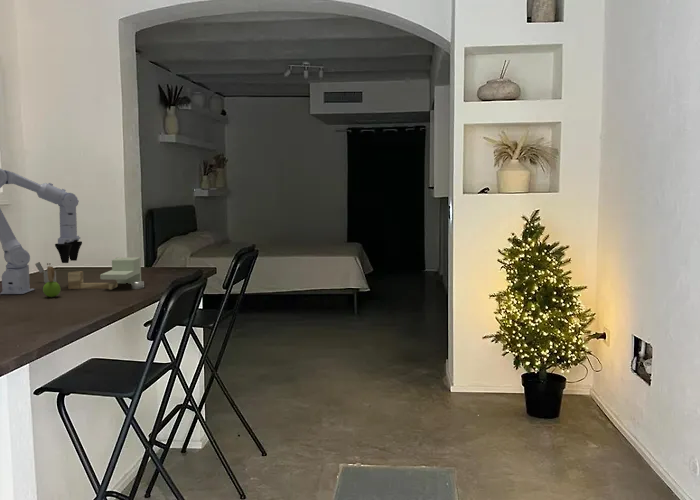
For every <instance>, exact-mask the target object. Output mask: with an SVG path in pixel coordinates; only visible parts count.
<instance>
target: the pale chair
mask: <svg viewBox="0 0 700 500" xmlns="http://www.w3.org/2000/svg"><path fill="white" fill-rule="evenodd" d="M141 258H142V257H120V256H119V257H115V259H111V270H108V271H105V272H103V273H101V274H100V277H99V278H100V280H115V281H116V282H117V285H119V284H126V283H128V284H129V285H130V284H131V285H132V282H133V281H142V265H141V264H142V262H141V261H142V259H141Z"/></svg>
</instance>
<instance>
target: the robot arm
mask: <svg viewBox="0 0 700 500" xmlns="http://www.w3.org/2000/svg"><path fill="white" fill-rule="evenodd" d="M5 185H14V186H15V185H16V186H18V187H21V188H24V189H27V190H29V191H32V192H34V193H36V194H37V196H38V198H40V199H42V200H45V201H47V202H50V203H51V204H54V205H58V207H59V238H57V243H55V244H54V247H55V248H56V250H57V252H58V254H59V257H60V260H61V264H69V262H71V261H73V262H75V261H78V256H79V253H80V249H81V246H82V244H83V241H81V237H80V235H78V228H77V227H78V226H77V225H78V221H77V217H78V216H77V206H78V205H79V199H78V197H77V196H76V194H74V193H72V192H67V190H66V189H65V188H62V189H61V188H59V187H57V186H54V183H51V182H48V183H47V182H45V183H41V184H40V183H38V182H35V181H33V180H31V179H29V178H27V177H24V176H22V175H20V174H18V173H15V172H13V171H9V170H6V169H2V168H0V189H1V188H2V187H3V186H5ZM0 243H1V249H2V250H3V254H4V255H3V256H4V257H3V258H4V261H5V262H7V264H6V265H5V271H3V272H2V275H1V287H2V288H1V289H2V290H1V292H0V295H24V294H26V293H30V292H32V291H35V288H30V287H31V286H30V285H31V284H30V265H29V262H30V260H31V256H30V253H29V252H28V250H26V249H25V248H24V247H23V245H22V244H21V243H20V241H19V240H18V239H17V238H16V235H15V234H14V232H13V230H12V228H11V225H10V224H9V222H8V221H7V218H6V217H5V214H4V212H3V211H2V209H1V208H0Z"/></svg>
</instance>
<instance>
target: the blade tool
mask: <svg viewBox="0 0 700 500" xmlns="http://www.w3.org/2000/svg"><path fill="white" fill-rule="evenodd" d="M67 276H68V277H67V278H68V279H67V282H68V284H67V285H68V286H67V287H68V288H67V289H68V290H81V289H87V290H88V289H90V290H91V289H94V290H95V289H97V290H98V289H100V290H101V289H107V290H113V289H116V288H117V287H118V285H119V284H117V281H113V282H84V271H80V270H78V271H76V270H73V271H69V272H67Z"/></svg>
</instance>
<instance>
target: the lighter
mask: <svg viewBox="0 0 700 500" xmlns="http://www.w3.org/2000/svg"><path fill="white" fill-rule="evenodd" d="M34 265H35V266H36V268H37V270H38V272H39V273H40V274H42V273H43V283H44V284H46V283H47V282H49V280H48V273H47V272H48V270H47V269H46V271H45V269H44V267H43V266H42V263H41V262H40V261H38V262H36V263H34ZM54 271H55V276H54V280H53V281H54V282H57V271H56V270H54Z"/></svg>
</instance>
